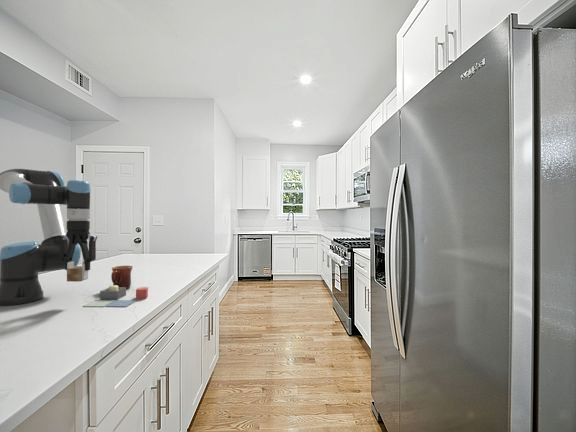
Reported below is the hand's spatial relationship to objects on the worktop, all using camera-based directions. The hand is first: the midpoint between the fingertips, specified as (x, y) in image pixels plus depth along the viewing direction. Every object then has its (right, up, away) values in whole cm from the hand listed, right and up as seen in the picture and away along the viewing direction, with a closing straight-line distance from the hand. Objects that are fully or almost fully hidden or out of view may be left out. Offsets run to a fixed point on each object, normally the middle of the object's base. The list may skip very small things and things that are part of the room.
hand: (77, 278), depth 120 cm
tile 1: (+9, -10, 0) cm, 13 cm away
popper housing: (+9, -10, +9) cm, 16 cm away
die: (+21, -10, +9) cm, 25 cm away
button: (+9, -9, +9) cm, 16 cm away
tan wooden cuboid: (0, -1, 0) cm, 1 cm away
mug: (+5, -10, +22) cm, 25 cm away
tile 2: (+17, -10, 0) cm, 20 cm away
